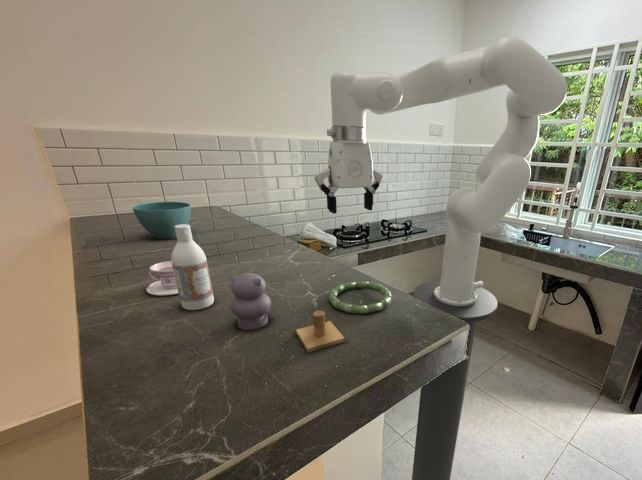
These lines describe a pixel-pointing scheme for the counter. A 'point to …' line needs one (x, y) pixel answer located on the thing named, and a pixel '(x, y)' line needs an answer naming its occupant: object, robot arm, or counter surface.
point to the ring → (358, 308)
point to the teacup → (163, 280)
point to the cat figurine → (249, 300)
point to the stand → (319, 333)
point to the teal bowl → (162, 217)
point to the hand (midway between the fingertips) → (351, 210)
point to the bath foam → (191, 271)
